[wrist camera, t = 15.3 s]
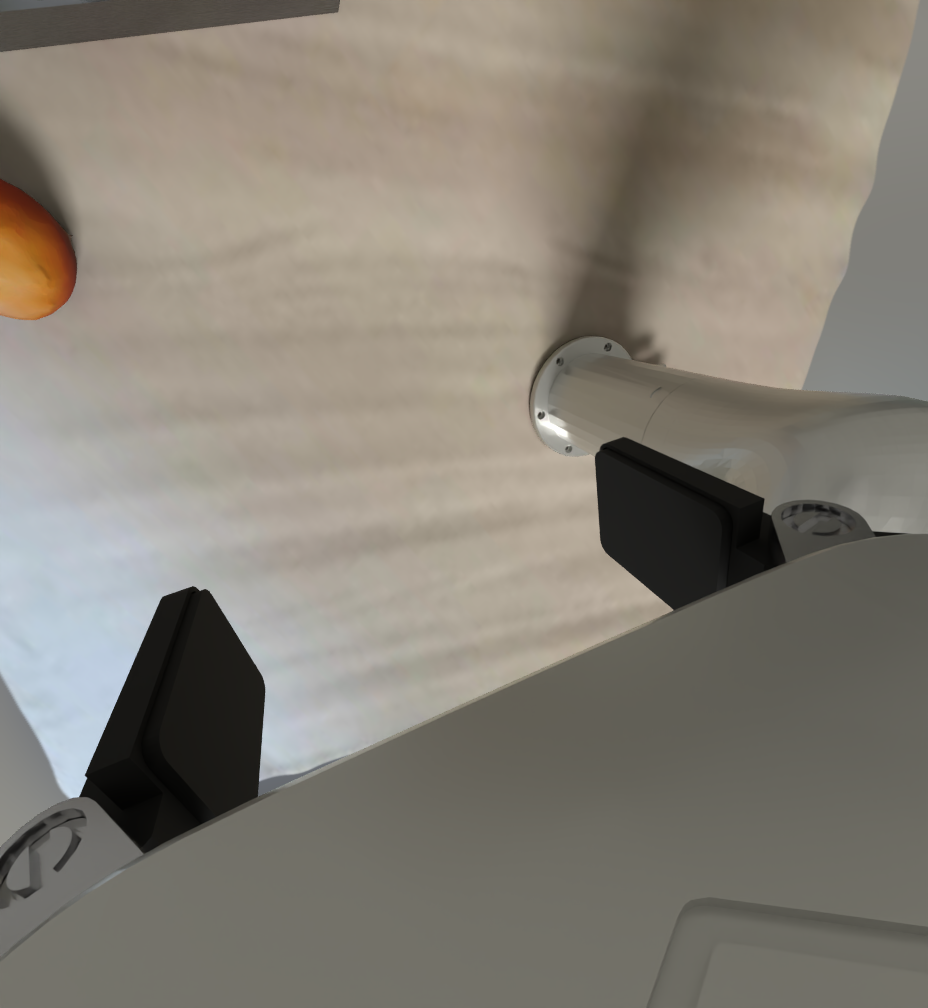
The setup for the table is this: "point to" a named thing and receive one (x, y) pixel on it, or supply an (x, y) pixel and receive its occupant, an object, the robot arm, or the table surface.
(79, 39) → the grey slotted holder
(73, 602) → the table surface
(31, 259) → the fruit
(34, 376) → the table surface
